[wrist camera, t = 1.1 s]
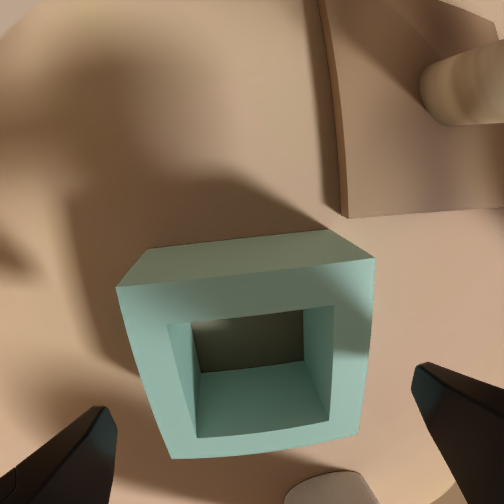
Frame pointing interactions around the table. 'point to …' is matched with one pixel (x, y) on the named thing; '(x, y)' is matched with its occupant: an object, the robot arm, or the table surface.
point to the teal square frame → (242, 305)
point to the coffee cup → (332, 490)
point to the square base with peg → (415, 106)
